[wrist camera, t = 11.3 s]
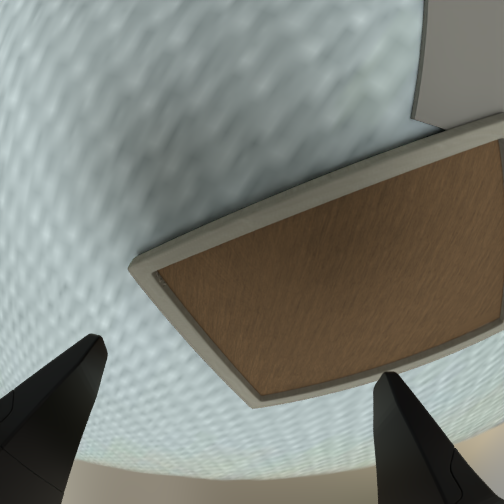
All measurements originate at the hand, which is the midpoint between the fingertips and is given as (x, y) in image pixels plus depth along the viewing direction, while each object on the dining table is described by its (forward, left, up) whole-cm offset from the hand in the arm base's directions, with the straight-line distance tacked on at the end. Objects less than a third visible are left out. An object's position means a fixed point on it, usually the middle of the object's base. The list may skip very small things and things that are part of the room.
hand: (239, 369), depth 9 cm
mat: (-13, +18, -12) cm, 25 cm away
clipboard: (+5, +9, -12) cm, 16 cm away
